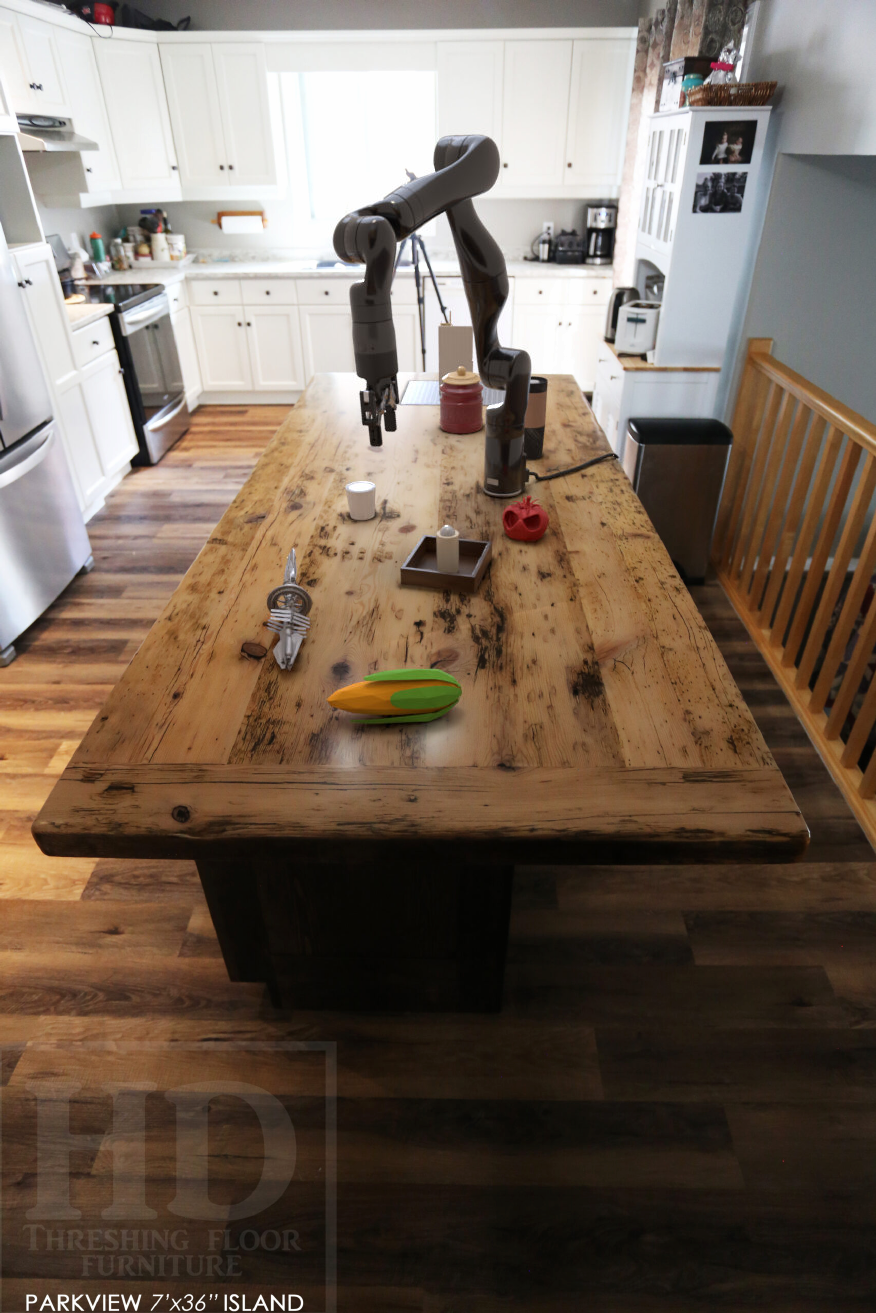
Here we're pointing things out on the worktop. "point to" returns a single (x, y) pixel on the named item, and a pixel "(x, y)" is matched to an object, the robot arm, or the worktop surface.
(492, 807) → the worktop surface
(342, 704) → the corn
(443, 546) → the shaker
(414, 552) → the tray
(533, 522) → the pomegranate
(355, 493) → the beige white cylinder
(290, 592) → the spaceship
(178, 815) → the worktop surface
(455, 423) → the kitchen canister
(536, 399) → the travel mug
